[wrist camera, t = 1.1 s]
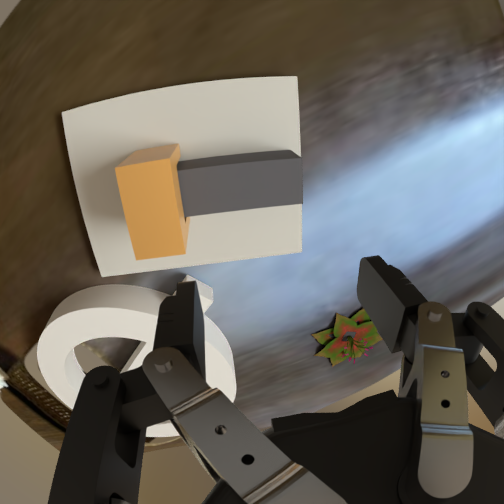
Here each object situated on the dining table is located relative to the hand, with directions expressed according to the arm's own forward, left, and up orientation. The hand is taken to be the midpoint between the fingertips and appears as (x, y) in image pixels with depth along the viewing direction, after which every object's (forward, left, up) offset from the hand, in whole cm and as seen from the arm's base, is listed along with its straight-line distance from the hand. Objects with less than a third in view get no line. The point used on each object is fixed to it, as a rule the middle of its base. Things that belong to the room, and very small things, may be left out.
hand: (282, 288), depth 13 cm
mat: (0, -5, -20) cm, 20 cm away
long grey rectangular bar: (0, -2, -18) cm, 18 cm away
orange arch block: (0, -7, -18) cm, 19 cm away
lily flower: (+25, +14, -20) cm, 35 cm away
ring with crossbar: (+25, -17, -20) cm, 36 cm away
